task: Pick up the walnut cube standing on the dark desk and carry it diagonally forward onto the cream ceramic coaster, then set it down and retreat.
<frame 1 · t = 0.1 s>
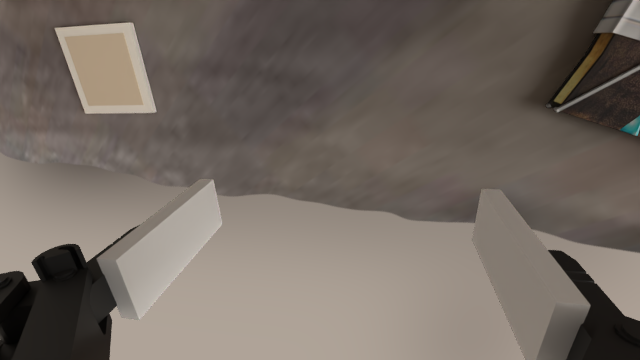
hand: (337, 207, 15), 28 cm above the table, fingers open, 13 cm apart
coaster: (109, 71, 45), on the table
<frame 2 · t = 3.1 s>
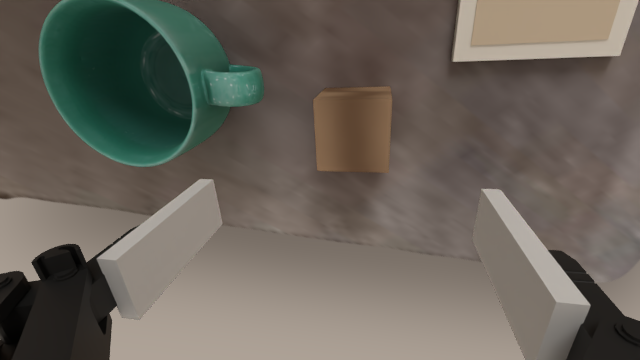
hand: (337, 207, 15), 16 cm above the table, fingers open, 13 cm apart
walnut cube: (357, 118, 30), on the table
mug: (206, 76, 31), on the table
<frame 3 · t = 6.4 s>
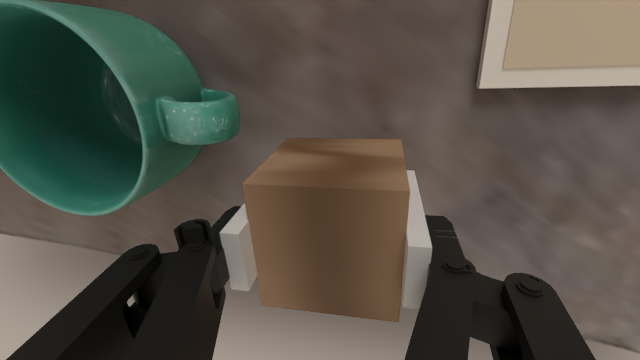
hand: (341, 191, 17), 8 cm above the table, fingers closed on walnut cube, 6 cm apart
walnut cube: (343, 190, 17), point 8 cm above the table, touching gripper
mug: (179, 100, 26), on the table
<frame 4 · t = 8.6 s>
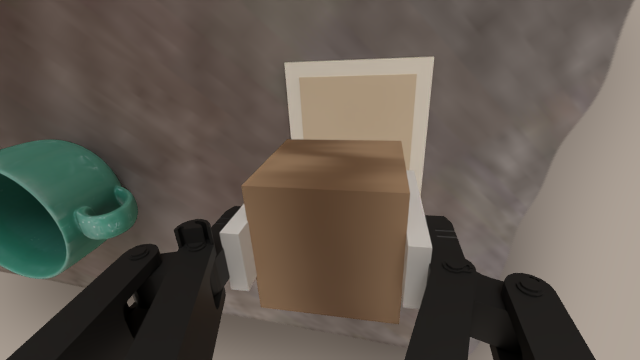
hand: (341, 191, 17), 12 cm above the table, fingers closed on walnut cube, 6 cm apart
walnut cube: (343, 191, 17), point 12 cm above the table, touching gripper
mug: (108, 184, 36), on the table
coaster: (356, 130, 28), on the table
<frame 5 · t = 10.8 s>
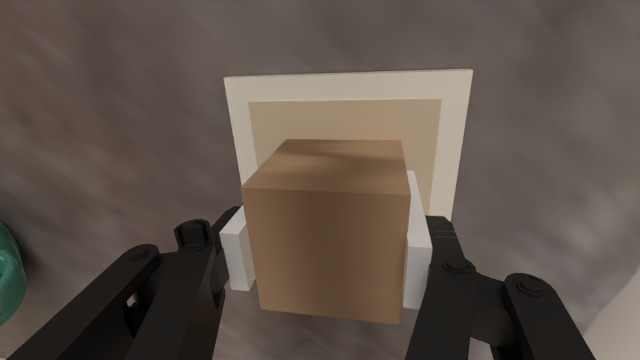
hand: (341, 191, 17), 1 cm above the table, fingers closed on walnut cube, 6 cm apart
walnut cube: (342, 191, 17), point 1 cm above the table, touching coaster, gripper
mug: (5, 239, 26), on the table
coaster: (342, 180, 18), on the table
when the fingers open (1 cm above the table, at t = 10.8 s): walnut cube stays where it is, resting on coaster.
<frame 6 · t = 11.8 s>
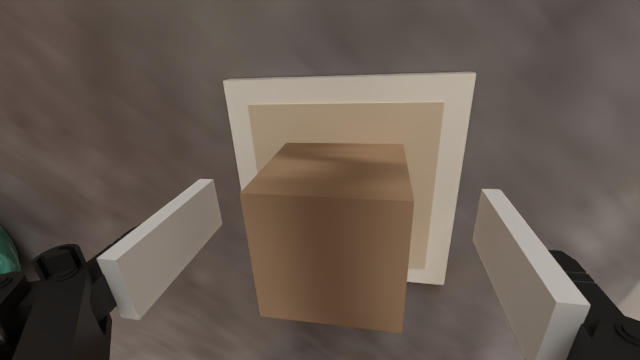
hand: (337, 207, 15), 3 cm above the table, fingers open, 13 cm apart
walnut cube: (343, 195, 17), point 1 cm above the table, touching coaster
mug: (3, 242, 26), on the table
coaster: (343, 184, 18), on the table
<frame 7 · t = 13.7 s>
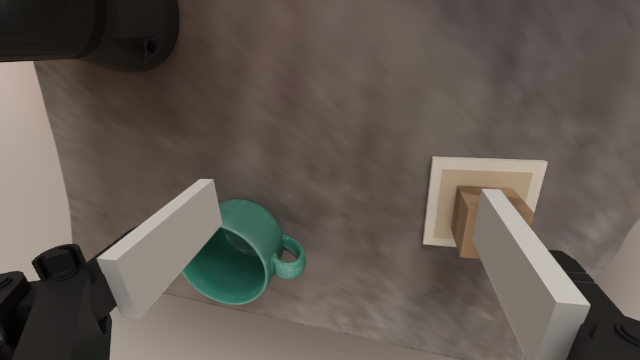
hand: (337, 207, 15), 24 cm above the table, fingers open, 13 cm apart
walnut cube: (480, 209, 37), point 1 cm above the table, touching coaster
mug: (263, 229, 47), on the table
coaster: (477, 204, 38), on the table
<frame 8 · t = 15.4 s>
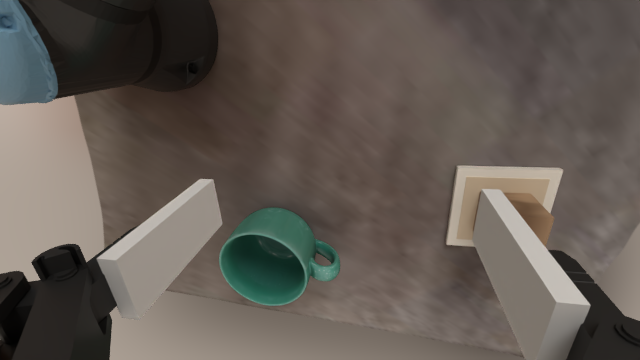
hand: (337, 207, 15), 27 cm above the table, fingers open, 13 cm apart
walnut cube: (500, 212, 41), point 1 cm above the table, touching coaster
mug: (294, 233, 50), on the table
coaster: (497, 207, 42), on the table
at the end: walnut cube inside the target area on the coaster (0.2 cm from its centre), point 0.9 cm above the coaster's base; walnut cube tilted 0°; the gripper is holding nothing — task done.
